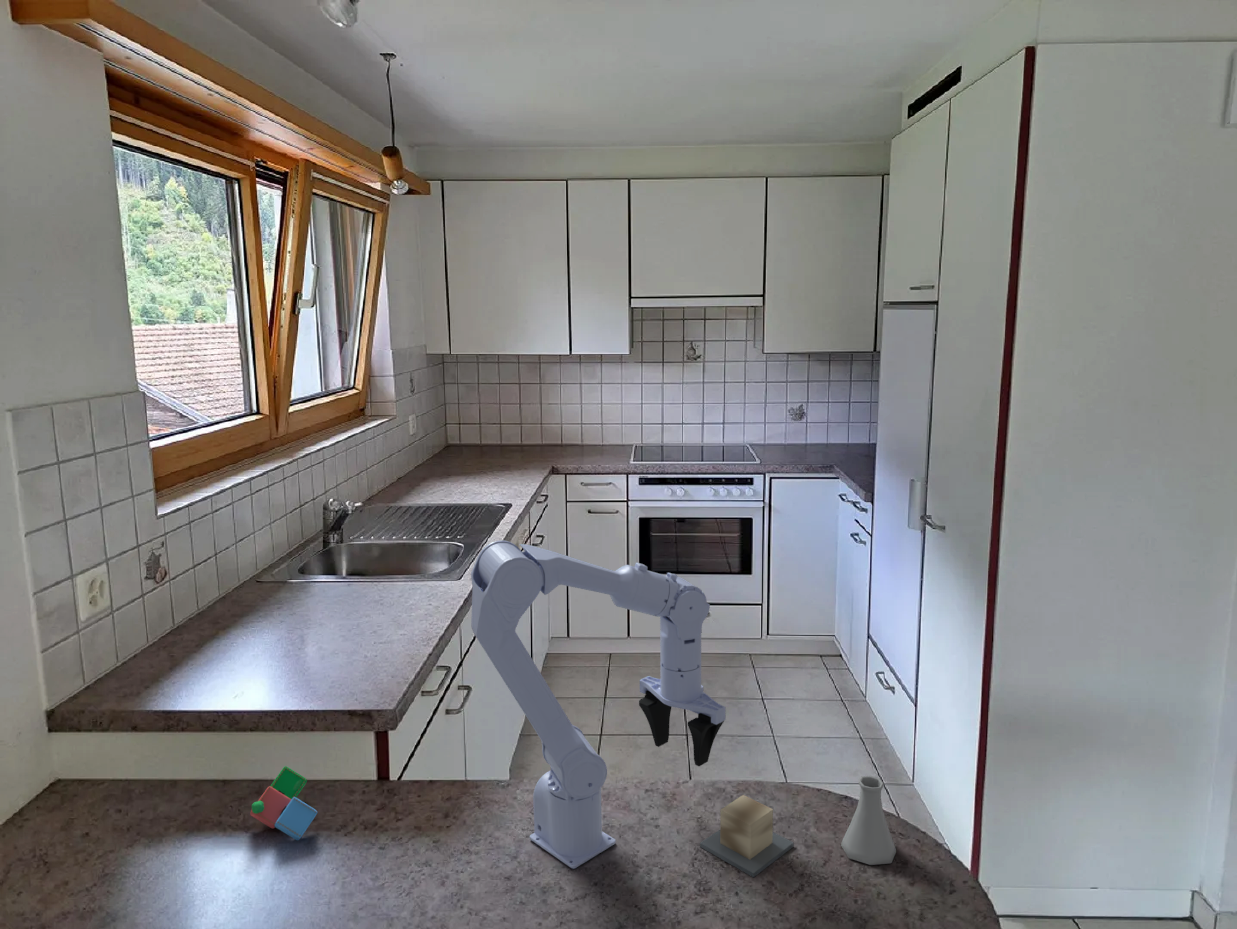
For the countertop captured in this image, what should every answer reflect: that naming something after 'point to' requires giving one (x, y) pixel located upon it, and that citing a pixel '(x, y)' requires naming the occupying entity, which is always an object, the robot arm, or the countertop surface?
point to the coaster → (743, 863)
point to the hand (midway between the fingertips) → (681, 753)
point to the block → (746, 826)
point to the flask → (869, 827)
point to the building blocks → (284, 805)
